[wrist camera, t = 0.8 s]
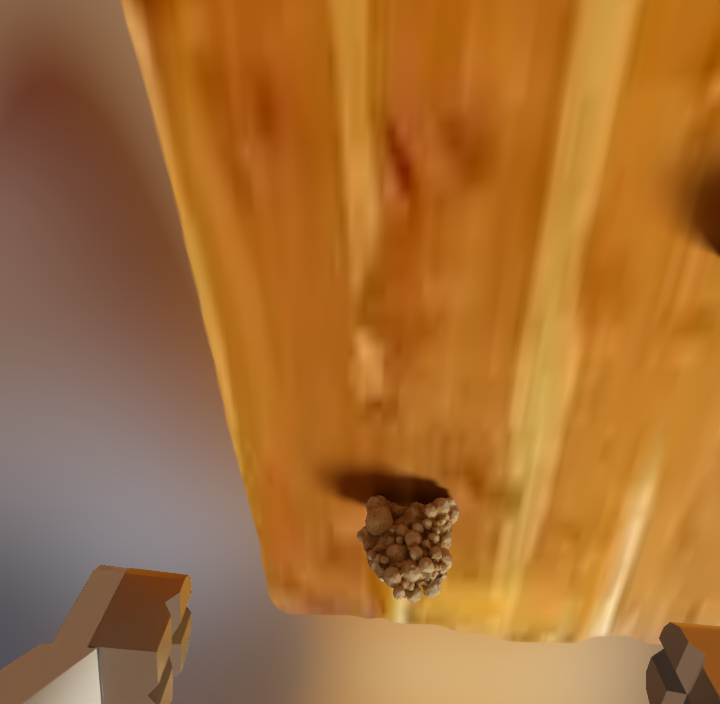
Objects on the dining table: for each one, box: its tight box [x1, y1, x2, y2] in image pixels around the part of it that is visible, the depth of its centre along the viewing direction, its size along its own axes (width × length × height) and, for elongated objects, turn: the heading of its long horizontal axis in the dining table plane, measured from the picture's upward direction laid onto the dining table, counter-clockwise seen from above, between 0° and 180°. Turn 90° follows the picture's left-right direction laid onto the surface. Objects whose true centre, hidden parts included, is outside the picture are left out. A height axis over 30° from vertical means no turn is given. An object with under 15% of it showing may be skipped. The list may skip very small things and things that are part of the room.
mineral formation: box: [357, 495, 459, 603], centre depth 79 cm, size 8×13×15 cm, turn 97°
